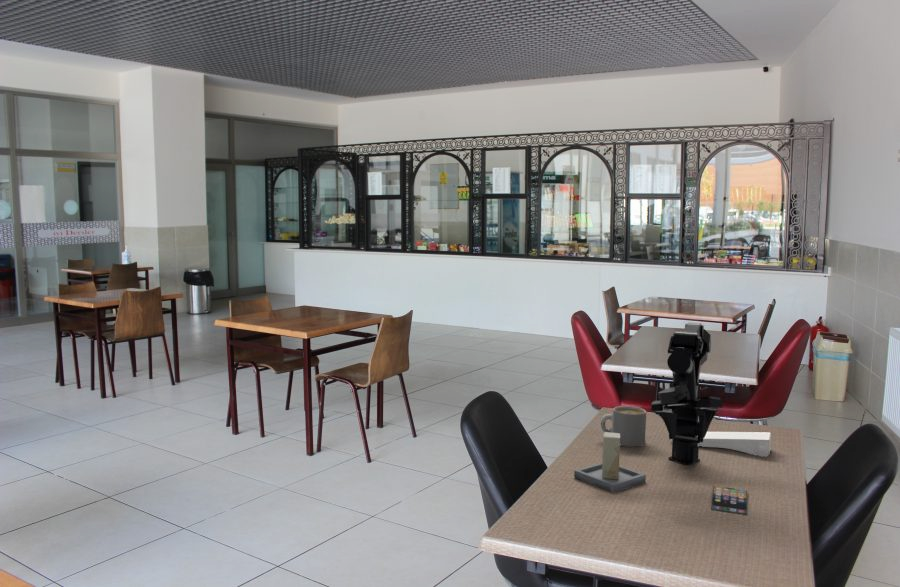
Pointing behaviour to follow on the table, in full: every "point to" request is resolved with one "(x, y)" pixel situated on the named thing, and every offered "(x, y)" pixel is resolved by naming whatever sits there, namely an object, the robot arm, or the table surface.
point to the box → (611, 455)
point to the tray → (613, 485)
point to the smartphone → (729, 500)
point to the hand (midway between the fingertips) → (687, 438)
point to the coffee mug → (627, 424)
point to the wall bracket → (739, 441)
